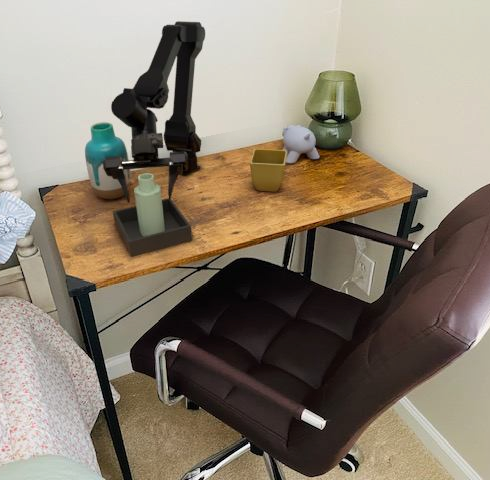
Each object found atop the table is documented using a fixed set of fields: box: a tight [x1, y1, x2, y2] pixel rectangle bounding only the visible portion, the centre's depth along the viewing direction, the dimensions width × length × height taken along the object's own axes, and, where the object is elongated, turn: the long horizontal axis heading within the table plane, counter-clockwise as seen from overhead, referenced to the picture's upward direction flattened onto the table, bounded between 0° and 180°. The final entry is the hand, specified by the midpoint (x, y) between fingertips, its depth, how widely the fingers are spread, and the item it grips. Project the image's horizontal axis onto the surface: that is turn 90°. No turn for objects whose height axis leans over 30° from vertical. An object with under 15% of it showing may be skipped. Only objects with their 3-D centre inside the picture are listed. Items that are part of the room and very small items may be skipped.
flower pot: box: [249, 148, 287, 193], centre depth 127 cm, size 9×9×9 cm
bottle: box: [133, 172, 165, 236], centre depth 109 cm, size 6×6×14 cm
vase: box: [84, 121, 132, 200], centre depth 124 cm, size 11×11×19 cm
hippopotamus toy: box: [281, 124, 320, 164], centre depth 143 cm, size 11×15×10 cm
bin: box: [112, 197, 193, 258], centre depth 112 cm, size 14×14×4 cm
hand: (149, 200), depth 109 cm, fingers open, 9 cm apart
